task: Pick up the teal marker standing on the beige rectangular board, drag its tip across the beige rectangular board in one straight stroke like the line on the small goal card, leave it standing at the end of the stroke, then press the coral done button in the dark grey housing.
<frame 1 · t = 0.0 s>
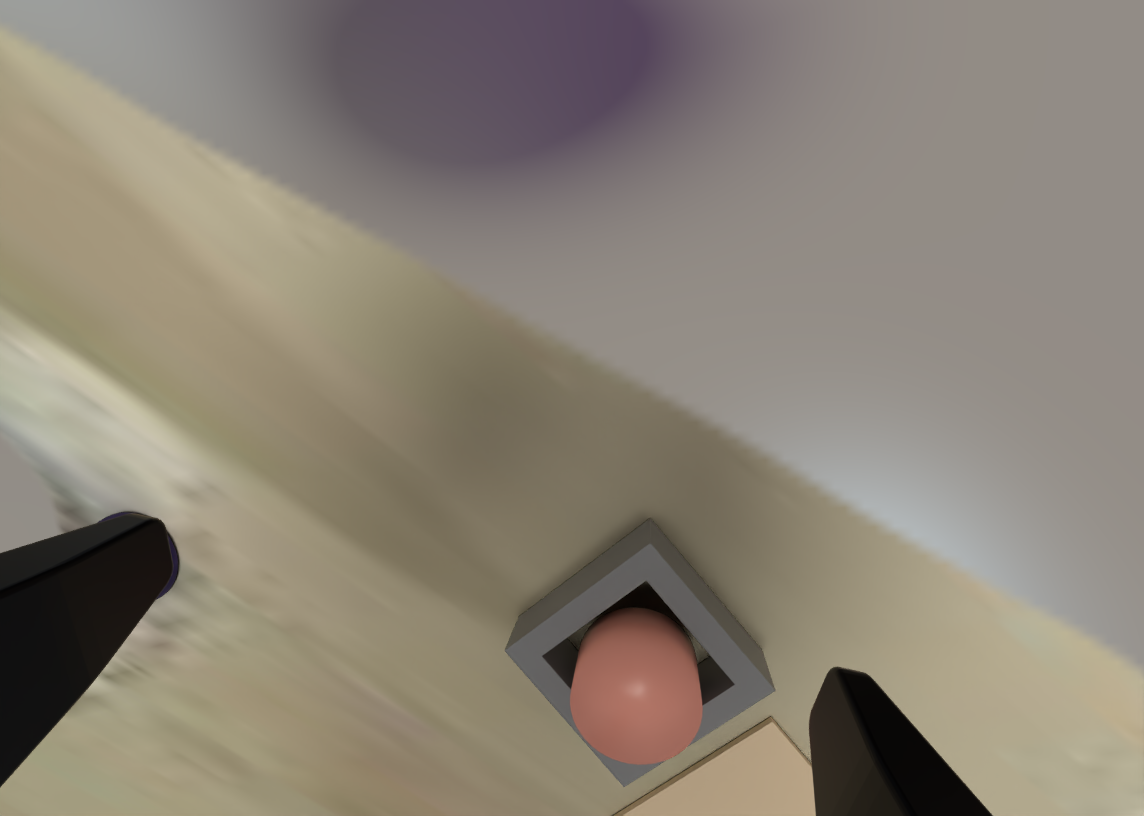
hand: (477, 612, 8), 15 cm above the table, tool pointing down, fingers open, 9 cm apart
purple rounded piece: (137, 560, 27), on the table
button housing: (637, 633, 24), on the table
button: (636, 682, 21), point 3 cm above the table, slide at 0.0 cm
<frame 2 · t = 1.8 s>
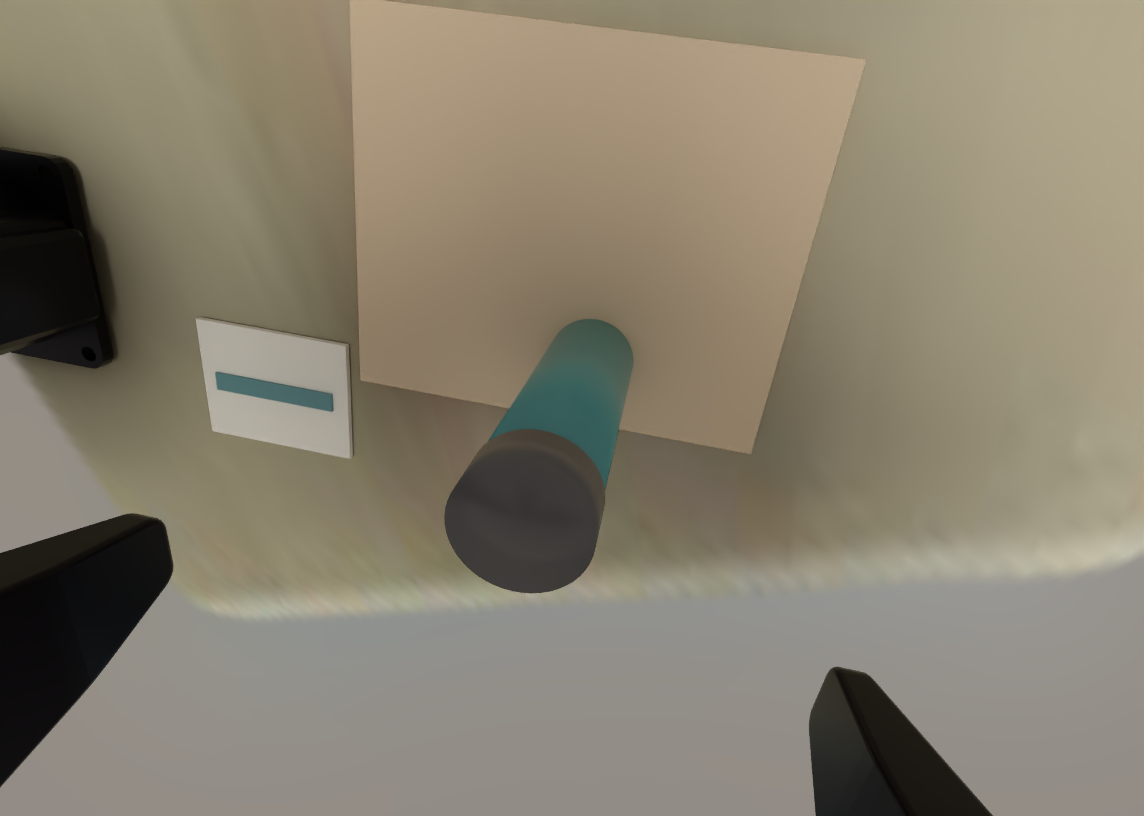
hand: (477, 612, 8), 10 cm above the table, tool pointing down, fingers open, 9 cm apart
marker: (591, 360, 17), resting on beige rectangular board
goal card: (278, 388, 19), on the table
beige rectangular board: (571, 245, 16), on the table
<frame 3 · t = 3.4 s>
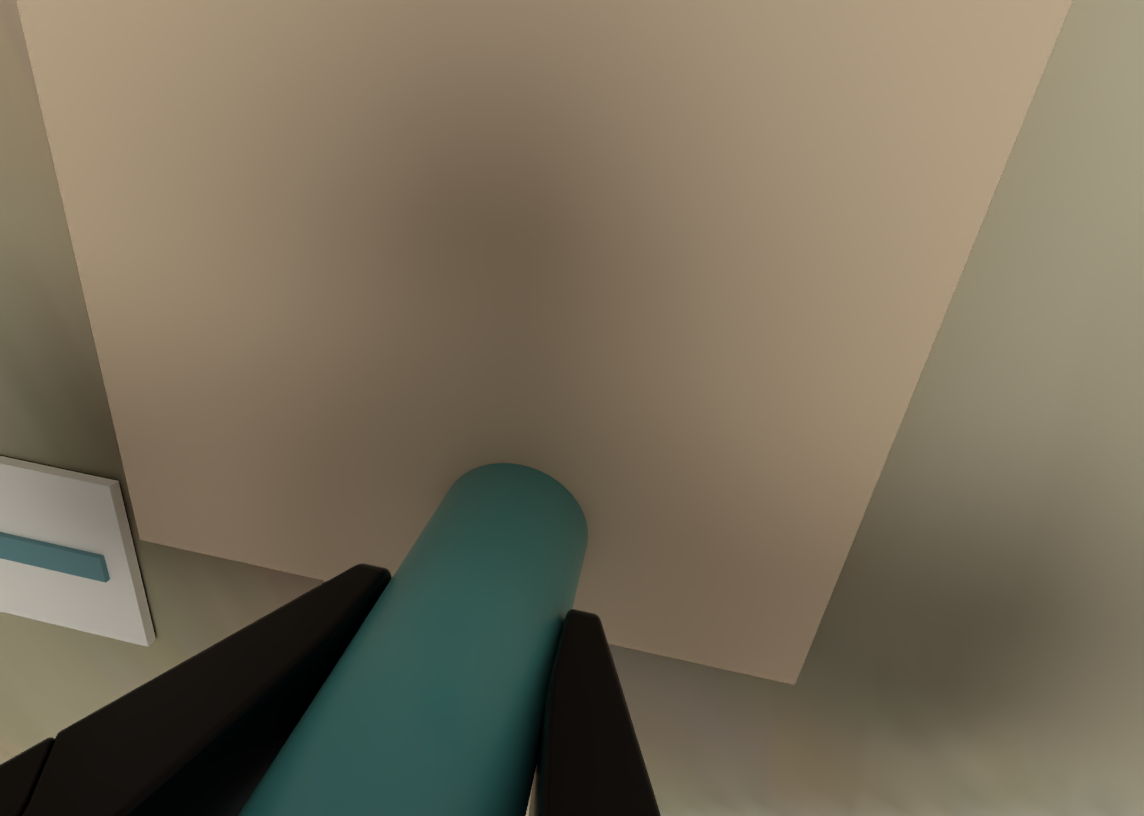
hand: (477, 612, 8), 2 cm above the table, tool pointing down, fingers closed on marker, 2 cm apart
marker: (513, 528, 10), resting on beige rectangular board, touching gripper
goal card: (26, 540, 12), on the table
beige rectangular board: (469, 334, 9), on the table
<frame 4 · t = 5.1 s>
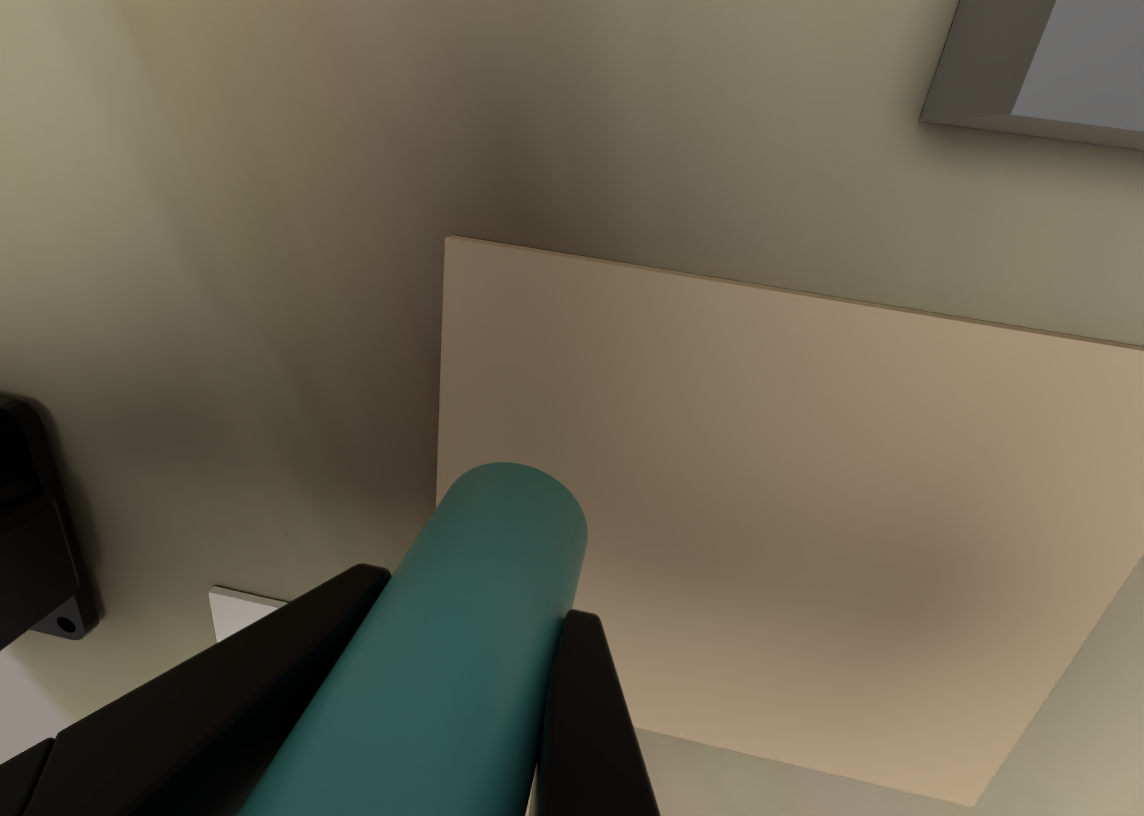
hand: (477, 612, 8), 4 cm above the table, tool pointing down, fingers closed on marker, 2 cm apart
marker: (513, 527, 10), point 2 cm above the table, touching gripper
goal card: (317, 669, 15), on the table
beige rectangular board: (744, 552, 11), on the table
when the fingers open (3 cm above the table, at t = 7.2 s): marker stays where it is, resting on beige rectangular board.
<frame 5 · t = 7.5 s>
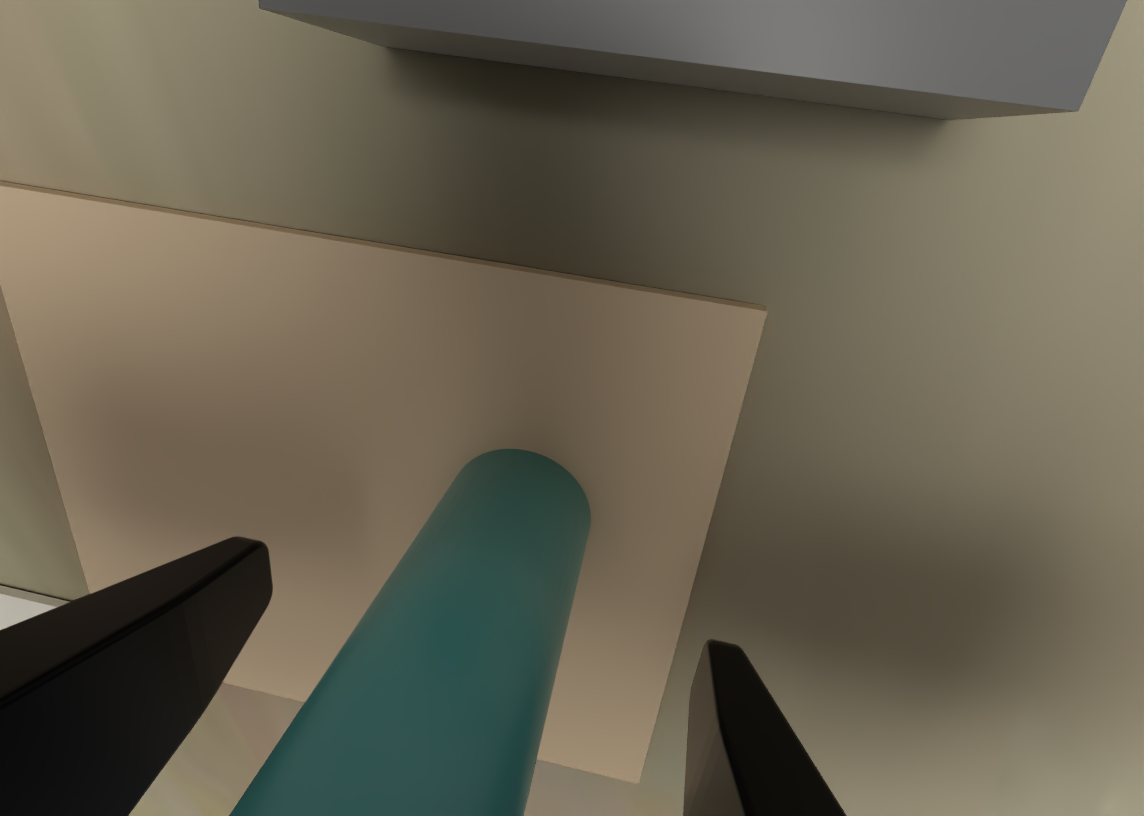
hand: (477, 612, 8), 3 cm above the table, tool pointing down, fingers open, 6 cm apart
marker: (519, 512, 10), resting on beige rectangular board
goal card: (13, 647, 14), on the table
beige rectangular board: (361, 517, 11), on the table
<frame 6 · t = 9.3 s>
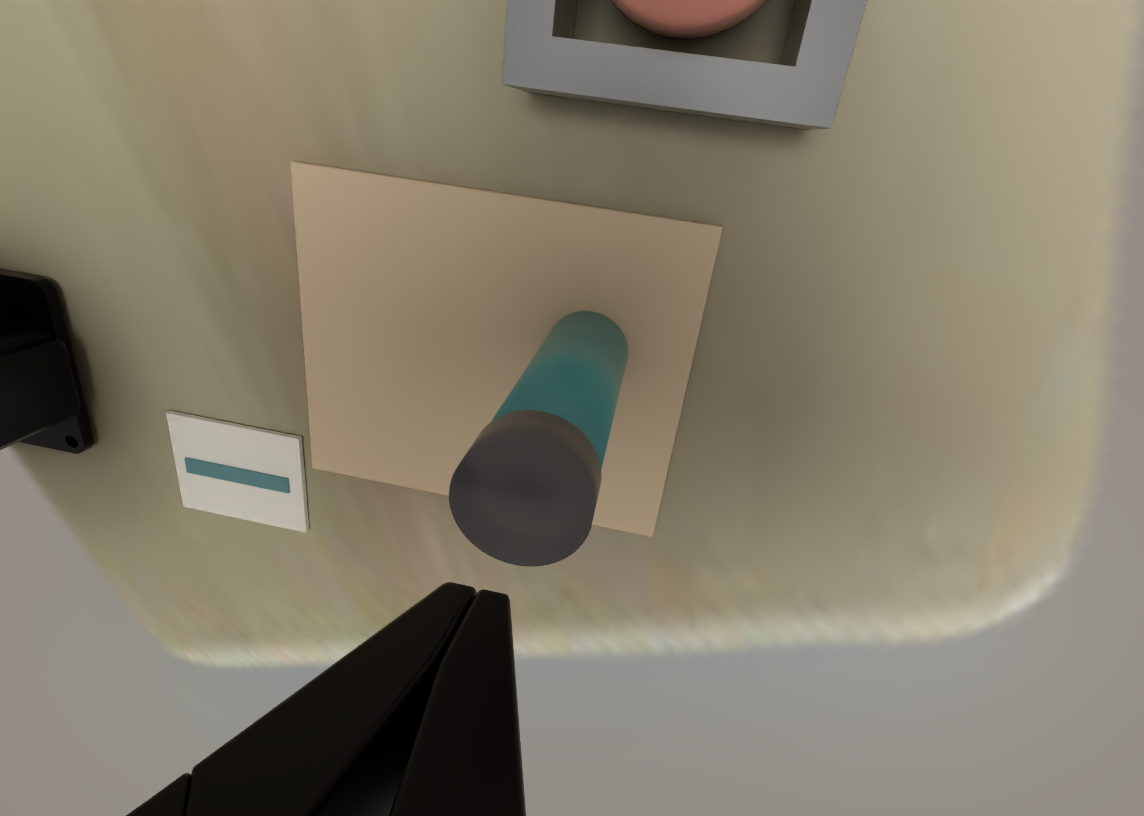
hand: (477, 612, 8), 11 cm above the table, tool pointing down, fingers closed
marker: (586, 351, 17), resting on beige rectangular board
goal card: (241, 471, 22), on the table
beige rectangular board: (489, 362, 18), on the table
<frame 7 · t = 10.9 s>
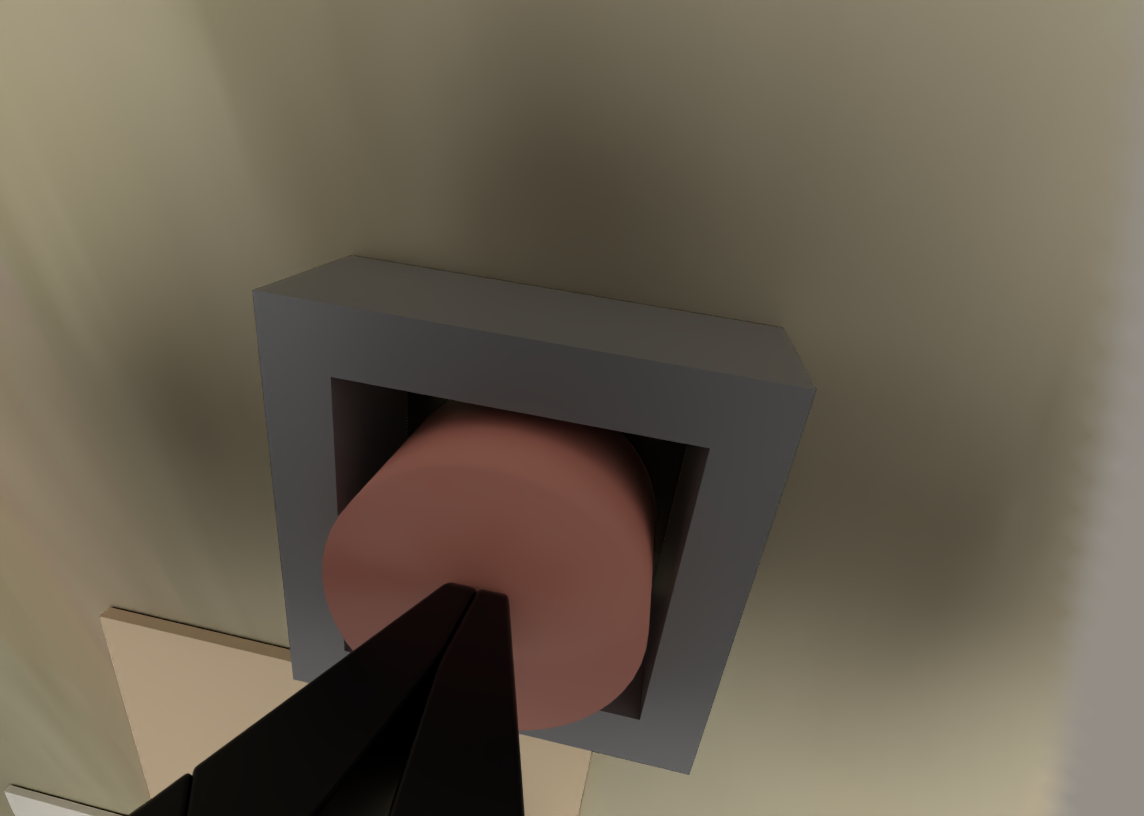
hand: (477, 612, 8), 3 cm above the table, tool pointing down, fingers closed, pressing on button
button housing: (536, 477, 11), on the table
button: (504, 552, 9), point 2 cm above the table, slide at -1.0 cm, touching gripper
beige rectangular board: (350, 795, 16), on the table
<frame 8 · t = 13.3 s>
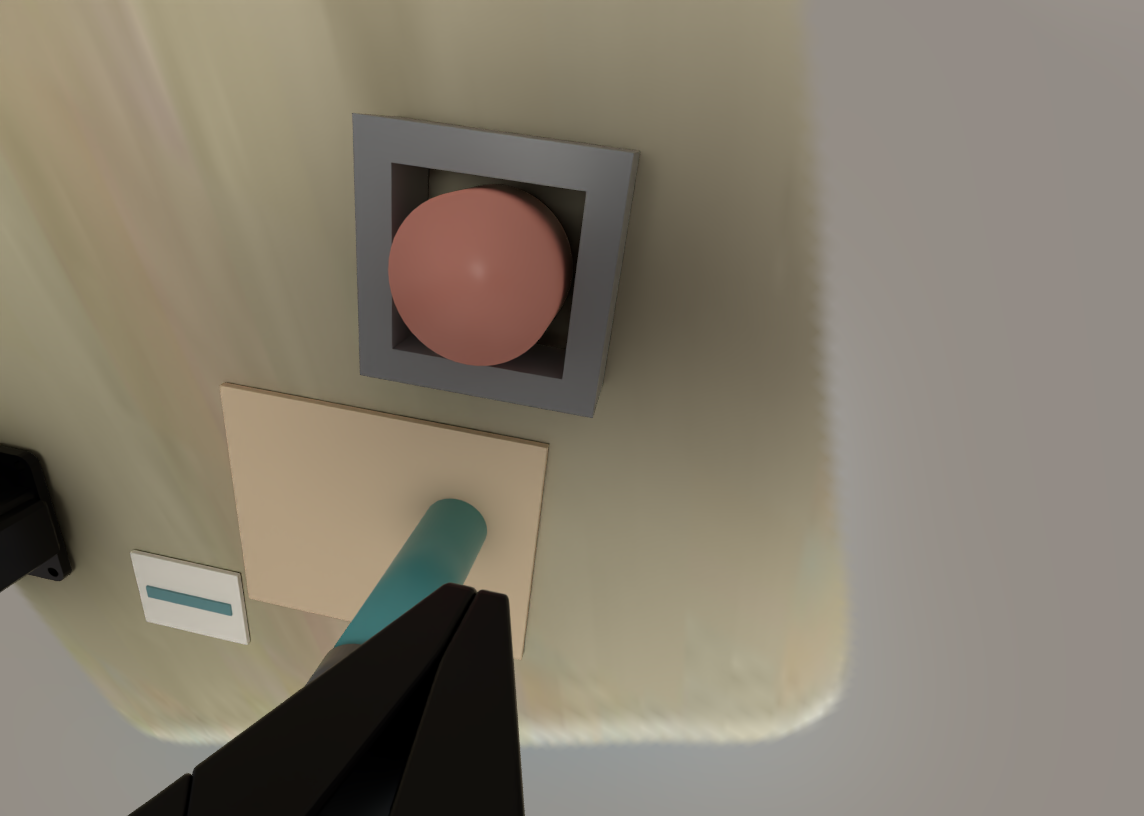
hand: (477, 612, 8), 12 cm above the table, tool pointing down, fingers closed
button housing: (505, 259, 18), on the table
button: (485, 273, 16), point 2 cm above the table, slide at -1.1 cm
marker: (455, 526, 22), resting on beige rectangular board
goal card: (193, 596, 27), on the table
beige rectangular board: (384, 527, 23), on the table
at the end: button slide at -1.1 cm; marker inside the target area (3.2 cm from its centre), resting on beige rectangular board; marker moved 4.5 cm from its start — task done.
